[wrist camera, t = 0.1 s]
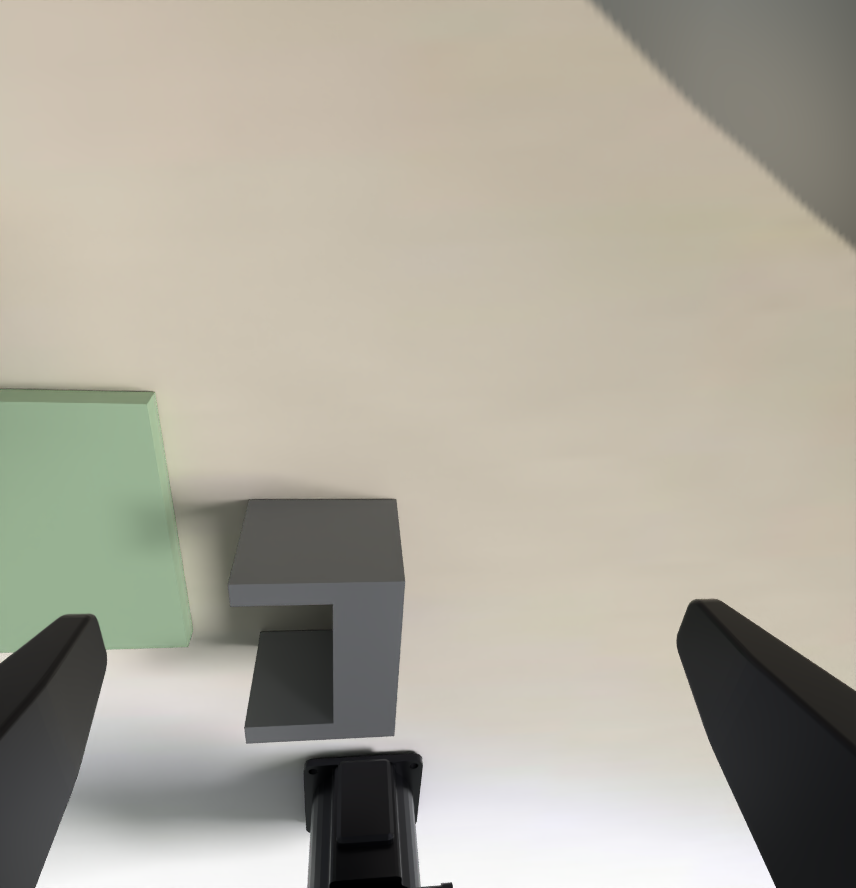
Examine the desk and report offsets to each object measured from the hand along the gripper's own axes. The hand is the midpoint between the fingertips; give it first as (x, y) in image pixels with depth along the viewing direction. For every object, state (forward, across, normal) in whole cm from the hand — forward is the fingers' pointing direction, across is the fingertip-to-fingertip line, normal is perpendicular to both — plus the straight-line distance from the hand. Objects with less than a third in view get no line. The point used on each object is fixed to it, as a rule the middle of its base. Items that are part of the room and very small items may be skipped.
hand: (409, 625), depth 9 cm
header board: (+14, +14, +9) cm, 22 cm away
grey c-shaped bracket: (+15, +2, +12) cm, 19 cm away
